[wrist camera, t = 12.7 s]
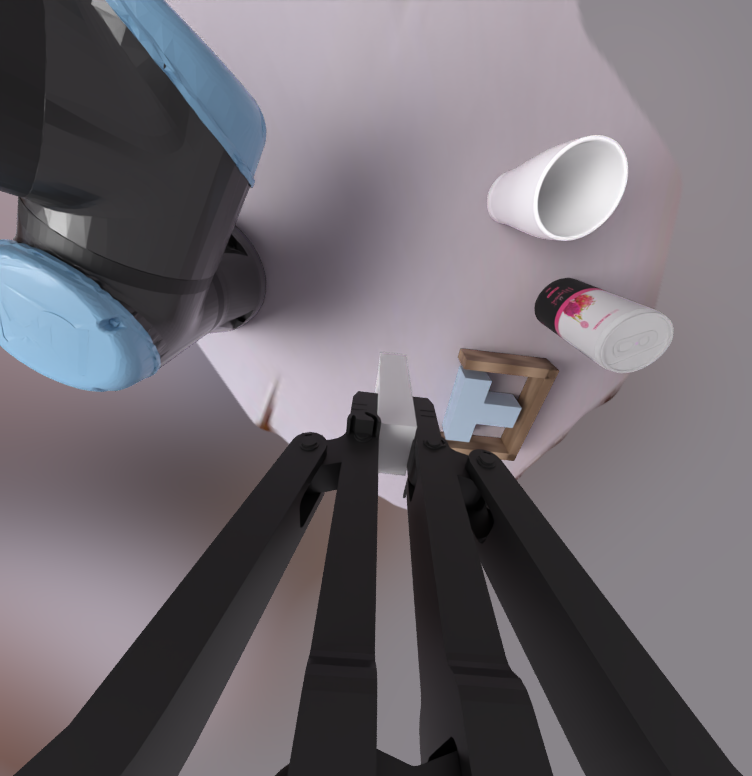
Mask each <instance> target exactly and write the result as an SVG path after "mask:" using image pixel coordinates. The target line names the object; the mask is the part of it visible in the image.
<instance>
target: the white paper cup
mask: <svg viewBox="0 0 752 776" xmlns="http://www.w3.org/2000/svg"><path fill="white" fill-rule="evenodd" d="M627 179H628V162H627V157H626V155H625V152H624V150H623V149H622V147H621V146H620V145H619V144H618V143H617V142H616V141H615V140H613V139H611V138H609V137H606V136H602V135H591V136H586V137H582V138H578V139H574V140H571V141H568V142H564V143H562V144H559V145H557V146H554V147H552V148H550V149H548V150H546V151H544V152H542V153H540V154H538V155H537V156H535V157H533V158H532V159H530V160H528V161H526V162H525V163H523V164H521V165H520V166H518V167H516V168H514V169H512V170H509V171H507V172H505V173H503V174H502V175H500V176H499V177H498V178H497V179H496V180H495V182H494V183H493V184H492V186H491V188H490V190H489V193H488V197H487V209H488V212H489V214H490V216H491V217H492V218H493V219H494V220H495V221H496V222H498V223H501V224H506V225H508V226H511V227H513V228H515V229H517V230H519V231H522V232H524V233H526V234H529V235H531V236H534V237H538V238H542V239H548V240H559V241H570V240H575V239H579V238H581V237H584V236H586V235H588V234H590V233H591V232H593V231H594V230H596V229H597V228H598V227H600V226H601V225H602V224H603V223H604V222H605V221H606V220H607V219H608V218H609V217H610V216H611V214H612V213H613V212H614V210H615V209H616V207H617V206H618V204H619V202H620V200H621V198H622V196H623V194H624V191H625V188H626V184H627Z"/></svg>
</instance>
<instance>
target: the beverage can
mask: <svg viewBox="0 0 752 776" xmlns="http://www.w3.org/2000/svg"><path fill="white" fill-rule="evenodd" d="M535 315H536V317H537V319H538V320H539V321H540V322H541V323H542V324H544V325H545V326H546V327H548V328H549V329H551V330H552V331H553V332H555V333H556V334H557V335H559V336H560V337H561V338H563V339H564V340H566V341H567V342H568V343H570V344H571V345H572V346H574V347H575V348H577V349H578V350H579V351H581V352H582V353H583V354H585V355H586V356H587V357H589V358H590V359H592V360H593V361H594V362H596V363H597V364H598V365H600V366H601V367H603V368H604V369H607V370H610V371H613V372H616V373H630V372H634V371H637V370H640V369H642V368H645V367H647V366H648V365H650V364H651V363H653V362H654V361H656V360H657V359H658V358H659V357H660V356H661V355H662V354H663V353H664V352H665V351H666V349H667V348H668V346H669V345H670V343H671V341H672V337H673V325H672V322H671V321H670V320H669V319H668V318H667V317H666V316H665V315H664V314H663V313H661V312H660V311H658V310H655V309H653V308H650V307H647V306H645V305H642V304H639V303H637V302H634V301H631V300H629V299H626V298H623V297H620V296H618V295H615V294H612V293H610V292H607V291H604V290H602V289H599V288H596V287H594V286H591V285H588V284H586V283H583V282H580V281H578V280H575V279H571V278H564V279H559V280H556V281H554V282H552V283H551V284H549V285H548V286H547V287H545V288H544V289H543V290H542V292H541V293H540V294H539V296H538V298H537V300H536V303H535Z"/></svg>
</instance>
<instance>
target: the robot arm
mask: <svg viewBox="0 0 752 776" xmlns="http://www.w3.org/2000/svg"><path fill="white" fill-rule="evenodd" d="M265 141H266V124H265V120H264V117H263V114H262V112H261V110H260V108H259V106H258V105H257V103H256V101H255V100H254V98H253V97H252V96H251V95H250V93H249V92H248V91H247V90H246V89H245V87H244V86H243V85H242V84H241V83H240V81H239V80H238V79H237V78H236V77H235V76H234V75H233V74H232V72H231V71H230V70H229V69H228V68H227V67H226V66H225V65H224V63H223V62H222V61H221V60H220V59H219V58H218V57H217V56H216V55H215V53H214V52H213V51H212V50H211V49H210V48H209V47H208V46H207V45H206V44H205V43H204V42H203V40H202V39H201V38H200V37H199V36H198V35H197V34H196V33H195V32H194V31H193V30H192V29H191V28H190V27H189V26H188V25H187V24H186V22H185V21H184V20H183V19H182V18H181V17H180V16H179V15H178V14H177V13H176V12H175V11H174V10H173V9H172V8H171V7H170V6H169V5H168V4H167V3H166V2H165V1H164V0H0V191H2V192H6V193H9V194H12V195H16V196H18V213H17V229H16V236H15V237H14V239H13V240H8V239H7V240H5V239H3V240H0V346H1V347H2V348H3V349H5V350H6V351H7V352H8V353H9V354H11V355H12V356H13V357H15V358H16V359H18V360H19V361H21V362H22V363H23V364H25V365H27V366H28V367H30V368H32V369H33V370H35V371H37V372H39V373H40V374H42V375H44V376H47V377H48V378H51V379H53V380H55V381H58V382H60V383H63V384H65V385H68V386H71V387H75V388H78V389H83V390H88V391H100V392H104V391H108V390H110V391H118V390H122V389H125V388H128V387H130V386H132V385H134V384H136V383H137V382H139V381H141V380H143V379H145V378H147V377H150V376H152V375H154V374H155V373H156V372H157V370H158V369H160V368H161V367H162V366H164V365H165V364H166V363H167V362H169V361H171V360H172V359H173V358H175V357H176V356H177V355H179V354H180V353H181V352H183V351H184V350H186V349H187V348H188V347H190V346H191V345H192V344H194V343H195V342H197V341H198V340H199V339H201V338H202V337H203V336H205V335H206V334H207V333H217V332H226V331H231V330H234V329H236V328H239V327H241V326H242V325H244V324H245V323H247V322H248V321H249V320H250V319H251V318H253V317H254V316H255V315H256V313H257V312H258V311H259V309H260V308H261V306H262V303H263V301H264V297H265V291H266V279H265V273H264V269H263V265H262V262H261V260H260V258H259V255H258V253H257V252H256V250H255V248H254V247H253V245H252V244H251V242H250V241H249V240H248V238H247V237H246V236H245V235H244V234H243V233H242V232H241V231H240V230H239V229H238V228H237V227H236V226H235V223H236V221H237V218H238V216H239V213H240V211H241V208H242V206H243V203H244V201H245V198H246V196H247V193H248V191H249V188H250V187H251V188H253V186H254V183H255V180H254V174H255V171H256V168H257V165H258V163H259V160H260V157H261V154H262V151H263V148H264V145H265ZM406 470H407V472H408V478H407V482H406V486H405V490H404V494H403V498H405V497H406V495H407V509H408V522H409V536H410V550H411V562H412V577H413V591H414V604H415V618H416V631H417V645H418V659H419V672H420V686H421V711H420V728H419V732H420V733H419V734H420V754H421V765H419V766H411V765H409V764H407V763H405V762H403V761H401V760H399V759H397V758H395V757H392V756H390V755H388V754H386V753H384V752H382V751H380V750H378V749H376V746H377V745H376V744H377V738H376V737H377V668H376V663H375V612H376V562H377V511H378V473H384V474H394V475H404V476H405V474H406ZM332 490H337V493H336V499H335V505H334V512H333V517H332V523H331V529H330V535H329V543H328V548H327V554H326V560H325V566H324V572H323V578H322V584H321V590H320V596H319V603H318V609H317V615H316V621H315V627H314V633H313V639H312V645H311V650H310V655H309V659H308V662H307V667H306V671H305V676H304V682H303V688H302V693H301V699H300V705H299V711H298V717H297V723H296V730H295V735H294V741H293V747H292V752H291V759H290V763H289V764H288V765H287V766H285V767H284V768H283V769H281V770H280V771H279V772H278V773H277V774H276V775H275V776H553V773H552V770H551V766H550V763H549V760H548V756H547V753H546V750H545V746H544V743H543V739H542V736H541V733H540V729H539V726H538V723H537V719H536V716H535V712H534V709H533V706H532V703H531V700H530V698H529V695H528V692H527V690H526V688H525V686H524V684H523V683H522V680H521V679H520V678H519V677H518V676H517V675H516V674H515V673H514V672H513V671H512V670H511V668H510V667H509V665H508V662H507V659H506V656H505V652H504V648H503V645H502V641H501V637H500V633H499V630H498V626H497V622H496V618H495V615H494V611H493V607H492V603H491V600H490V596H489V592H488V589H487V585H486V581H485V578H484V574H483V570H482V566H483V568H484V570H485V572H486V574H487V576H488V578H489V580H490V582H491V584H492V587H493V589H494V590H495V593H496V594H497V597H498V599H499V601H500V603H501V605H502V607H503V609H504V611H505V613H506V615H507V617H508V619H509V621H510V623H511V625H512V627H513V629H514V631H515V633H516V635H517V637H518V639H519V641H520V644H521V645H522V648H523V650H524V652H525V654H526V656H527V657H528V660H529V662H530V664H531V666H532V668H533V670H534V672H535V674H536V676H537V678H538V680H539V682H540V684H541V686H542V688H543V690H544V692H545V694H546V696H547V698H548V700H549V702H550V704H551V707H552V709H553V711H554V713H555V715H556V717H557V719H558V721H559V723H560V725H561V727H562V729H563V731H564V733H565V735H566V737H567V739H568V741H569V743H570V745H571V747H572V749H573V751H574V753H575V755H576V757H577V759H578V762H579V764H580V766H581V768H582V770H583V771H584V773H585V775H586V776H743V775H742V774H741V773H740V772H739V771H738V770H737V769H736V768H735V767H734V766H733V765H732V764H731V762H730V761H729V760H728V758H727V757H726V756H725V754H724V753H723V752H722V750H721V749H720V748H719V746H718V745H717V744H716V742H715V741H714V740H713V738H712V737H711V736H710V735H709V733H708V732H707V730H706V729H705V728H704V727H703V725H702V724H701V723H700V721H699V720H698V719H697V717H696V716H695V715H694V713H693V712H692V711H691V710H690V708H689V707H688V706H687V704H686V703H685V702H684V700H683V699H682V698H681V696H680V695H679V694H678V692H677V691H676V690H675V688H674V687H673V686H672V684H671V683H670V682H669V681H668V679H667V678H666V677H665V675H664V674H663V673H662V671H661V670H660V669H659V667H658V666H657V665H656V663H655V662H654V661H653V660H652V658H651V657H650V656H649V654H648V653H647V652H646V650H645V649H644V648H643V646H642V645H641V644H640V642H639V641H638V640H637V638H636V637H635V636H634V634H633V633H632V632H631V631H630V629H629V628H628V627H627V625H626V624H625V623H624V621H623V620H622V619H621V617H620V616H619V615H618V613H617V612H616V611H615V609H614V608H613V607H612V605H611V604H610V603H609V602H608V600H607V599H606V598H605V597H604V595H603V594H602V593H601V591H600V590H599V588H598V587H597V586H596V584H595V583H594V582H593V580H592V579H591V578H590V577H589V575H588V574H587V573H586V571H585V570H584V569H583V567H582V566H581V565H580V564H579V562H578V561H577V559H576V558H575V557H574V555H573V554H572V553H571V551H570V550H569V549H568V548H567V546H566V545H565V544H564V542H563V541H562V540H561V539H560V537H559V536H558V535H557V533H556V532H555V531H554V529H553V528H552V527H551V525H550V524H549V523H548V521H547V520H546V519H545V518H544V516H543V515H542V513H541V512H540V511H539V509H538V508H537V507H536V505H535V504H534V503H533V501H532V500H531V499H530V498H529V496H528V495H527V494H526V492H525V491H524V490H523V488H522V487H521V486H520V484H519V483H518V482H517V480H516V479H515V478H514V476H513V475H512V474H511V472H510V471H509V470H508V469H507V467H506V466H505V465H504V463H503V462H502V461H501V459H500V458H499V457H498V456H496V455H495V454H493V453H492V452H490V451H487V450H484V449H476V450H472V451H471V452H470V453H469V455H466V454H463V453H460V452H458V451H455V450H453V449H451V448H450V447H449V444H448V442H447V441H446V440H445V439H444V438H443V437H441V433H440V429H439V425H438V421H437V418H436V413H435V409H434V405H433V404H432V402H431V401H430V400H429V399H428V398H420V397H412V390H411V384H410V377H409V370H408V363H407V357H406V355H404V354H395V353H386V352H380V359H379V367H378V374H377V381H376V389H375V393H369V392H360V391H358V392H357V393H356V394H355V395H354V396H353V401H352V407H351V413H350V414H349V416H348V418H347V430H346V433H345V434H344V435H343V436H341V437H339V438H336V439H332V440H326V439H325V438H324V437H323V436H322V435H320V434H318V433H313V432H308V433H302V434H300V435H298V436H296V437H295V438H294V439H293V440H292V442H291V443H290V444H289V445H288V447H287V448H286V449H285V451H284V452H283V453H282V454H281V456H280V457H279V458H278V459H277V461H276V462H275V463H274V464H273V466H272V467H271V468H270V470H269V471H268V472H267V473H266V475H265V476H264V477H263V479H262V480H261V481H260V482H259V484H258V485H257V486H256V487H255V489H254V490H253V491H252V493H251V494H250V495H249V496H248V498H247V499H246V500H245V501H244V503H243V504H242V505H241V507H240V508H239V509H238V511H237V512H236V513H235V514H234V515H233V517H232V518H231V519H230V521H229V522H228V523H227V524H226V526H225V527H224V528H223V530H222V531H221V532H220V533H219V535H218V536H217V537H216V538H215V540H214V541H213V542H212V543H211V545H210V546H209V547H208V549H207V550H206V551H205V552H204V554H203V555H202V556H201V557H200V559H199V560H198V561H197V563H196V564H195V565H194V566H193V568H192V569H191V570H190V572H189V573H188V574H187V575H186V577H185V578H184V579H183V581H182V582H181V583H180V584H179V586H178V587H177V588H176V589H175V591H174V592H173V593H172V594H171V596H170V597H169V598H168V600H167V601H166V602H165V603H164V605H163V606H162V607H161V609H160V610H159V611H158V612H157V614H156V615H155V616H154V617H153V619H152V620H151V621H150V622H149V624H148V625H147V626H146V628H145V629H144V630H143V631H142V633H141V634H140V635H139V637H138V638H137V639H136V640H135V642H134V643H133V644H132V645H131V647H130V648H129V649H128V651H127V652H126V653H125V654H124V656H123V657H122V658H121V659H120V661H119V662H118V663H117V665H116V666H115V667H114V668H113V670H112V671H111V672H110V674H109V675H108V676H107V677H106V679H105V680H104V681H103V683H102V684H101V685H100V686H99V688H98V689H97V690H96V691H95V693H94V694H93V695H92V696H91V698H90V699H89V700H88V702H87V703H86V704H85V705H84V707H83V708H82V709H81V710H80V712H79V713H78V714H77V715H76V717H75V718H74V719H73V721H72V722H71V723H70V725H68V727H66V728H65V729H64V730H63V731H62V732H61V733H60V734H59V735H57V736H56V737H55V738H54V739H53V740H52V741H51V742H50V743H49V744H48V745H47V746H45V747H44V748H43V749H42V750H41V751H40V752H39V753H38V754H37V755H36V756H34V757H33V758H32V759H31V760H30V761H29V762H28V763H27V764H26V765H24V767H22V768H21V769H20V770H19V771H18V772H17V773H16V774H15V775H13V776H178V775H179V772H180V771H181V769H182V767H183V766H184V763H185V762H186V760H187V758H188V757H189V755H190V753H191V751H192V749H193V748H194V746H195V744H196V742H197V740H198V738H199V736H200V734H201V732H202V730H203V728H204V726H205V725H206V723H207V721H208V719H209V717H210V715H211V713H212V711H213V709H214V707H215V705H216V703H217V701H218V699H219V698H220V695H221V693H222V691H223V690H224V688H225V686H226V684H227V682H228V680H229V678H230V676H231V674H232V672H233V670H234V668H235V666H236V665H237V663H238V661H239V659H240V657H241V655H242V653H243V651H244V649H245V647H246V645H247V643H248V641H249V639H250V637H251V635H252V633H253V631H254V629H255V628H256V626H257V624H258V622H259V619H260V618H261V616H262V614H263V612H264V610H265V608H266V606H267V604H268V602H269V600H270V599H271V597H272V595H273V593H274V591H275V589H276V587H277V585H278V583H279V581H280V579H281V577H282V575H283V573H284V571H285V569H286V568H287V566H288V564H289V561H290V560H291V558H292V556H293V554H294V552H295V550H296V548H297V546H298V544H299V542H300V540H301V538H302V537H303V534H304V533H305V530H306V529H307V527H308V525H309V523H310V521H311V519H312V517H313V515H314V513H315V511H316V509H317V507H318V505H319V504H320V502H321V500H322V498H323V496H324V492H327V491H332ZM481 564H482V566H481Z"/></svg>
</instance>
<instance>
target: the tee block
mask: <svg viewBox="0 0 752 776" xmlns="http://www.w3.org/2000/svg"><path fill="white" fill-rule="evenodd" d="M491 383H492V380H491V379H490V377H489V375H488V374H487V372H483V371H475V370H466V369H464V368H463V366H460V367H459V370H458V373H457V377H456V380H455V384H454V387H453V390H452V394H451V397H450V400H449V404H448V407H447V410H446V414H445V417H444V420H443V424H442V426H443V430H444V435H445V439H446V440H453V441H462V442H469V441H470V439H471V436H472V433H473V431H474V428H475V425H476V424H482V425H491V426H499V427H508V428H513V426H514V424H515V422H516V420H517V417H518V415H519V413H520V411H521V409H522V408H521V406H520V405H519V403H518V402H517V400H516V399H515V397H514V396H513V394H507V393H499V392H491V391H489V388H490V385H491Z"/></svg>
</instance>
